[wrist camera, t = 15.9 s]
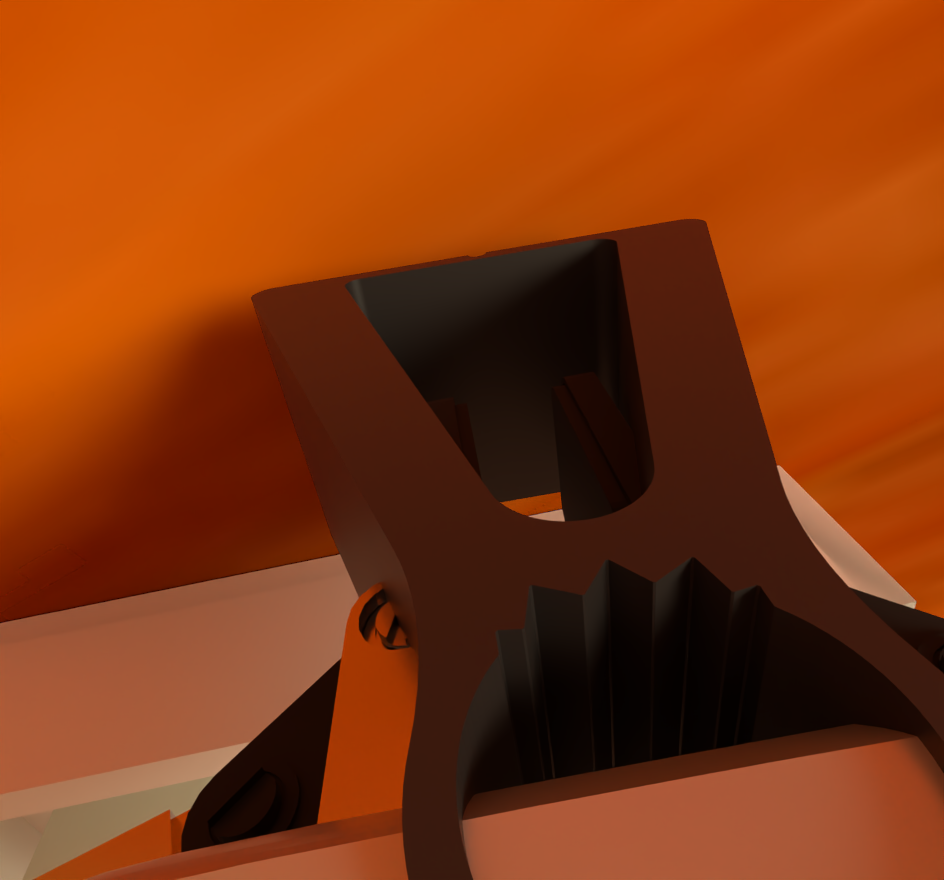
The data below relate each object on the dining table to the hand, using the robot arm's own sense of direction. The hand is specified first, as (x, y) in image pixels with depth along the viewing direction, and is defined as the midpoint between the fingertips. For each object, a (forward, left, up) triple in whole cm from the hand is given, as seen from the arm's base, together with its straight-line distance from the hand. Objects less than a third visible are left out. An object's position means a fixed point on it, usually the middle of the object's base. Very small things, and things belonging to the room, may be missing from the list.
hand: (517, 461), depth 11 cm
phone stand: (0, 0, -3) cm, 3 cm away
